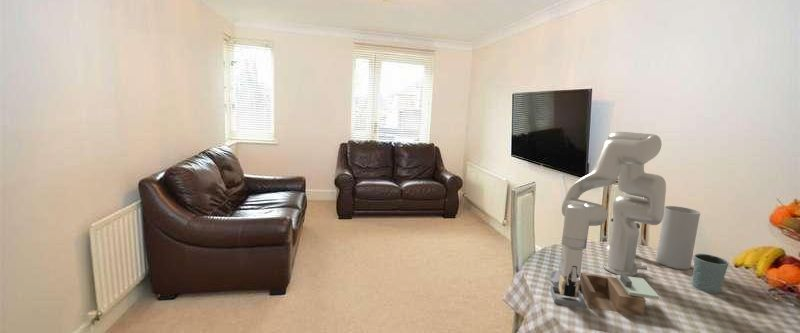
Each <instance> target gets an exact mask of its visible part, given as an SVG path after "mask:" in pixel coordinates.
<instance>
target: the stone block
mask: <svg viewBox="0 0 800 333" xmlns="http://www.w3.org/2000/svg"><path fill="white" fill-rule="evenodd" d="M560 275H563V274H562V271H561V270H554V271H550V278H549V280H550V283H551V284H552V286H554V287H559V279H560ZM577 281H578V283H579V285H578V290H579V291H581V290H580V287H581V286H580V285H581V284H580V278H577Z"/></svg>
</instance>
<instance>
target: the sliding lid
mask: <svg viewBox="0 0 800 333" xmlns="http://www.w3.org/2000/svg"><path fill="white" fill-rule="evenodd" d="M615 278H617V279H618V280H619V282H620V283H621V285H622V286H623V287H624V289H625V290H626V291H627V293H628V294H629V295H632V296H639V297H644V298H645V299H646V298H647V299H653V300H660V296H659V294H657V292H656V291H655V290H654V288H652V286H650V284H649V283H648V282H647V280H645V279H644V278H643V277H635V276H627V275H626V274H621V275H619V274H616V276H615Z"/></svg>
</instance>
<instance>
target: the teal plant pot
mask: <svg viewBox="0 0 800 333" xmlns="http://www.w3.org/2000/svg"><path fill="white" fill-rule="evenodd" d="M729 264H730V263H729V261H728V260H727V259H725V258H722V257H719V256H717V255H712V254H707V253H696V254H694V257H693V271H692V272H693V273H692V277H691V278H692V279H691V285H692V287H693V288H695V289H697V290H698V291H703V292H705V293H708V292H709V294H719V292H720V293H721V290H722V287H723V282H724V279H725V276H726V273H727V269H728V267H729Z"/></svg>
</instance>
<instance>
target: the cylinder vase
mask: <svg viewBox="0 0 800 333" xmlns="http://www.w3.org/2000/svg"><path fill="white" fill-rule="evenodd" d="M700 216H701V212H700V210H696V209H692V208H689V207H683V206H675V205H665V206H664V215H663V219H662V221H661V225H660V231H659V232H660V233H659V237H658V238H659V239H658V244H657V250H656V256H655V261H656V262H657V263H659V264H660V265H662V266H665V267H667V268H671V269H674V270H689V269H690V268H691V267H692V260H693V255H694V251H695V244H696V238H697V235H698V234H697V232H698V227H699V222H700Z"/></svg>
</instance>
